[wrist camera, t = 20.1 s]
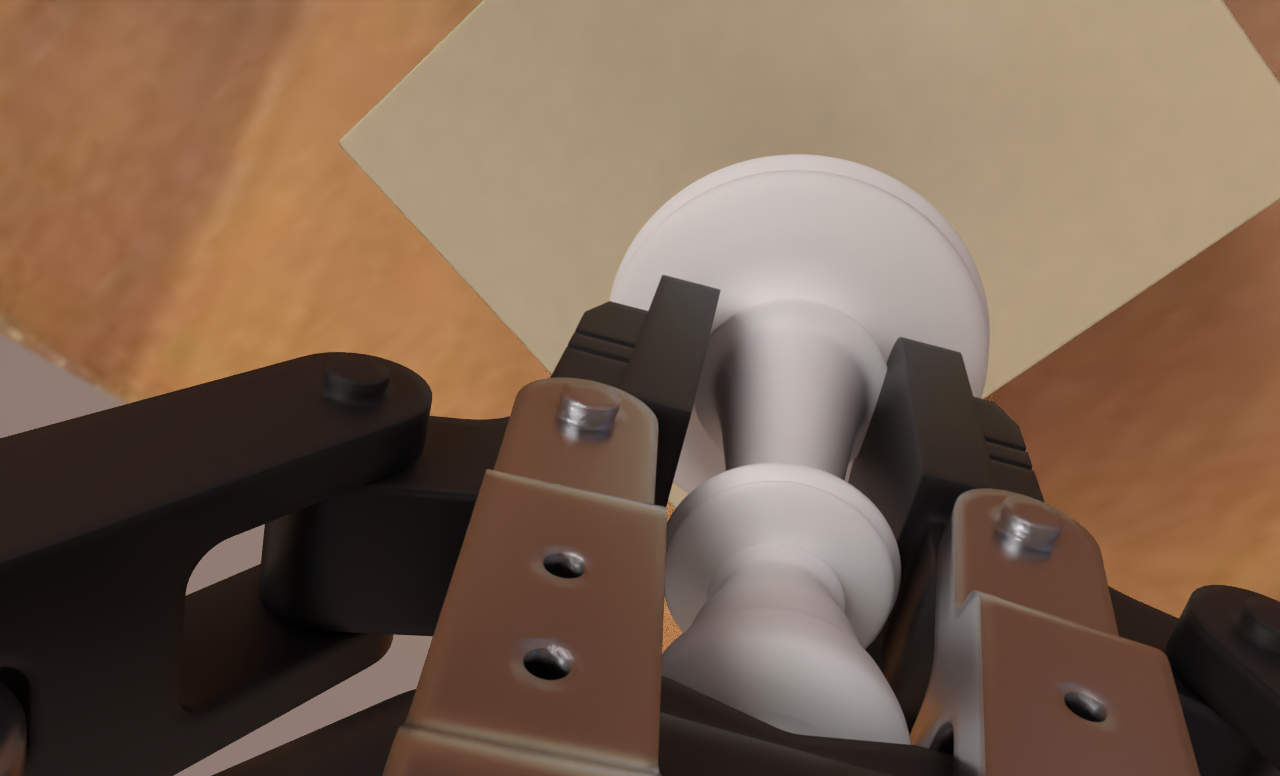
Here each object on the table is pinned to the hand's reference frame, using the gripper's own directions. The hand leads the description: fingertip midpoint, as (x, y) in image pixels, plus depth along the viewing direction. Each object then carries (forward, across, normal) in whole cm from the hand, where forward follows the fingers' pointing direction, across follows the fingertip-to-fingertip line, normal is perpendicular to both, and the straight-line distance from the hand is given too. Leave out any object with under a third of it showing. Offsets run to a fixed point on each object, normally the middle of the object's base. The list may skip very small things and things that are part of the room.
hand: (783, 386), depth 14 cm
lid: (+11, 0, -1) cm, 11 cm away
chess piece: (+2, 0, 0) cm, 2 cm away
